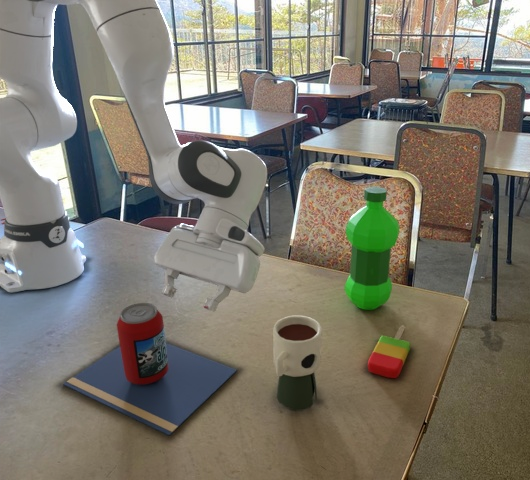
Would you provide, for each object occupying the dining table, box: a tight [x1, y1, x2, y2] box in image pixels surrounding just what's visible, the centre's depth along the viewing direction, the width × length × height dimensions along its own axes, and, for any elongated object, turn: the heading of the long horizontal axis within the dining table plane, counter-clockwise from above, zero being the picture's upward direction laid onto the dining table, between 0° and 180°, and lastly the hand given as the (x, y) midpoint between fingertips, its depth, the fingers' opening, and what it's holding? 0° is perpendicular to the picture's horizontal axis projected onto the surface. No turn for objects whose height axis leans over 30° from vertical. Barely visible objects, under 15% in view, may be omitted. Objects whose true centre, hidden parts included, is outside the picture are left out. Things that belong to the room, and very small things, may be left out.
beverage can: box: [116, 302, 169, 385], centre depth 76 cm, size 7×7×12 cm
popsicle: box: [367, 324, 411, 379], centre depth 86 cm, size 6×15×2 cm, turn 157°
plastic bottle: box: [344, 186, 400, 311], centre depth 96 cm, size 10×10×25 cm
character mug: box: [272, 314, 323, 411], centre depth 72 cm, size 11×7×13 cm, turn 153°
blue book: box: [62, 342, 238, 436], centre depth 78 cm, size 22×16×1 cm
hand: (187, 302), depth 84 cm, fingers open, 8 cm apart
